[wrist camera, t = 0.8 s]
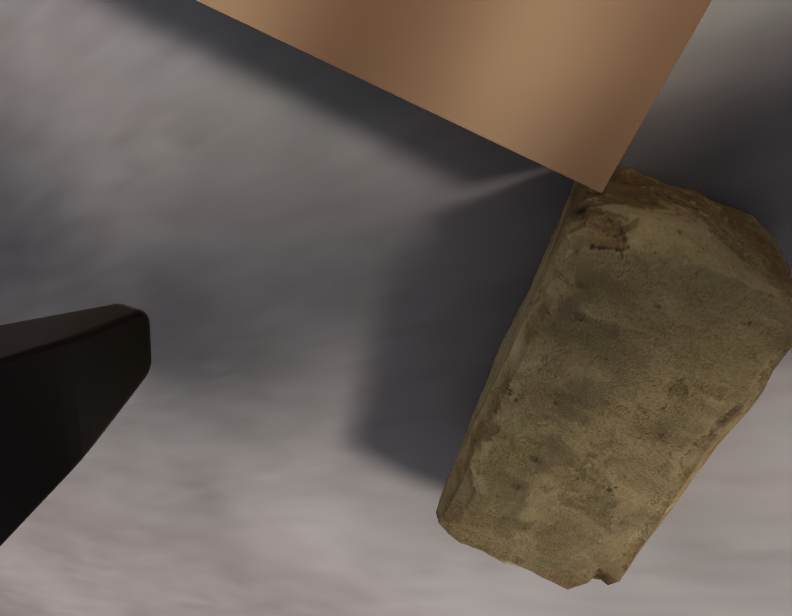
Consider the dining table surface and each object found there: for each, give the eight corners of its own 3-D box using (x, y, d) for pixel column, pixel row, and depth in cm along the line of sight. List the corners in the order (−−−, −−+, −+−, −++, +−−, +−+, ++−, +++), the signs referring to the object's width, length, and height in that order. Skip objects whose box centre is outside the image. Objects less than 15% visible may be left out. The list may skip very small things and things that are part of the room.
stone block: (458, 442, 24) (419, 540, 20) (587, 140, 19) (571, 187, 14) (612, 510, 24) (606, 628, 19) (796, 216, 18) (845, 290, 14)
